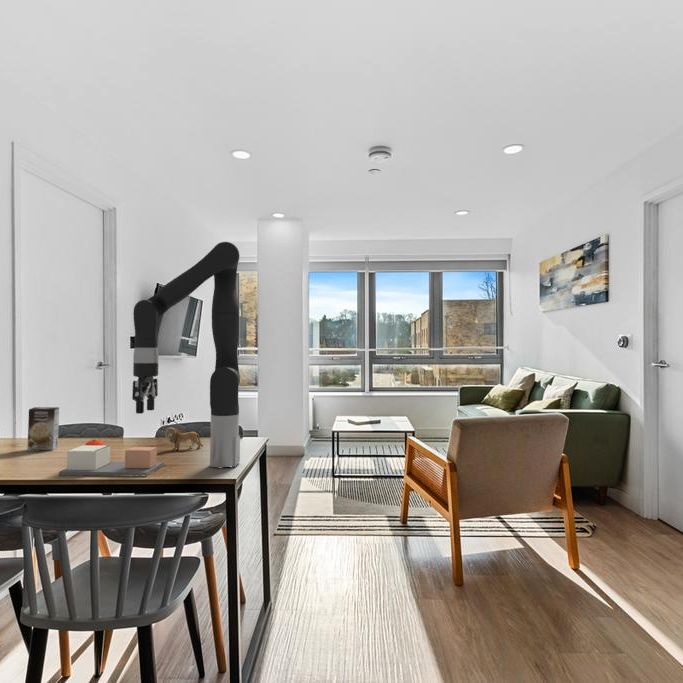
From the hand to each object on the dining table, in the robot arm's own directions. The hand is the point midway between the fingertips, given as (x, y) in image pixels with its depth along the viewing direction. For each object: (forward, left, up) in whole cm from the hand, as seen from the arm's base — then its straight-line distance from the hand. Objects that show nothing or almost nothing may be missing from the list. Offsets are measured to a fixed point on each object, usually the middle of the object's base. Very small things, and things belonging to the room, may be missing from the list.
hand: (145, 411), depth 155 cm
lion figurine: (-2, -33, -19) cm, 38 cm away
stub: (+1, +1, -17) cm, 17 cm away
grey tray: (+9, +1, -19) cm, 21 cm away
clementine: (+24, -15, -19) cm, 34 cm away
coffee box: (+52, -30, -19) cm, 63 cm away
